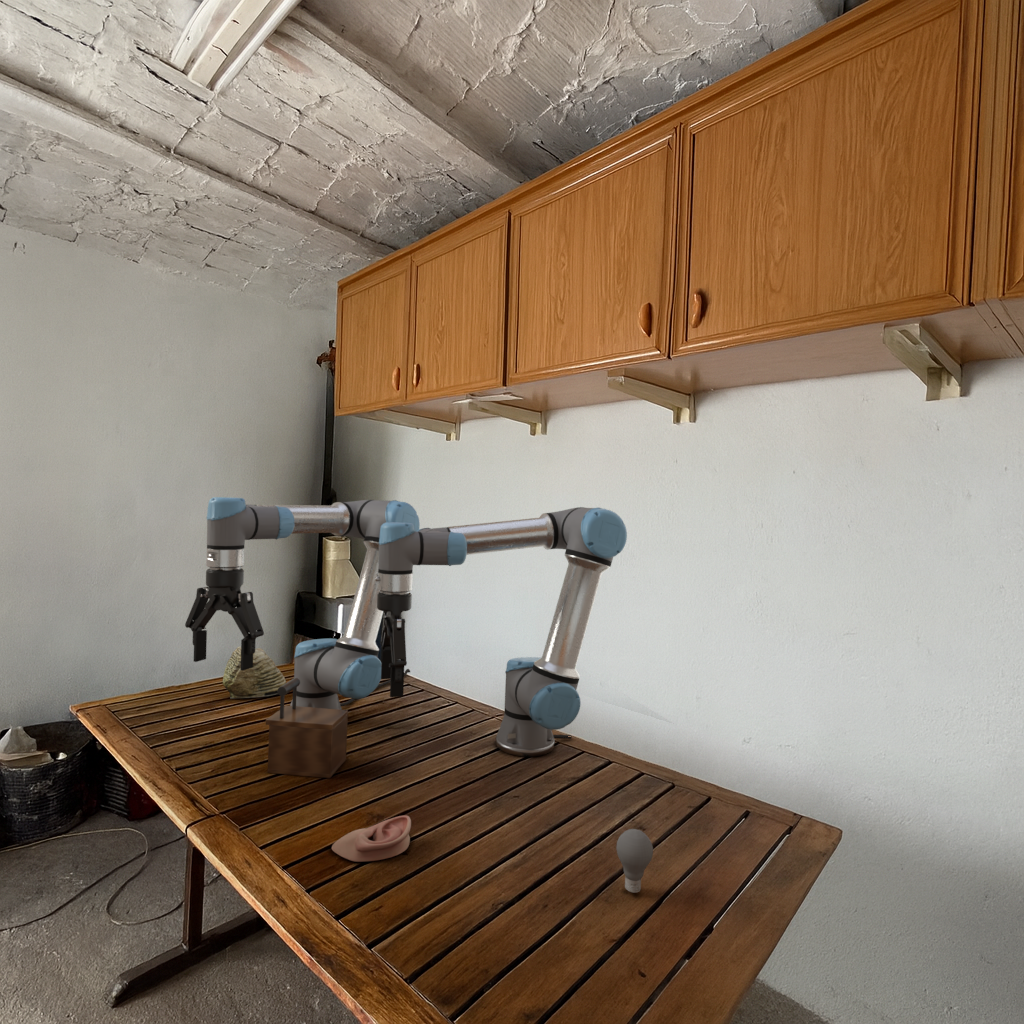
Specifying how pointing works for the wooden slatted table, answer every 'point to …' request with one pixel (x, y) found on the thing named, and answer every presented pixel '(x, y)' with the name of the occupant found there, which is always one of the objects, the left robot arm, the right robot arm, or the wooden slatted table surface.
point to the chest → (307, 750)
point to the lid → (303, 712)
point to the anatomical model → (375, 841)
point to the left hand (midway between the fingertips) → (222, 664)
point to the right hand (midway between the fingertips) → (391, 687)
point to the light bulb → (634, 857)
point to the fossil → (252, 676)
